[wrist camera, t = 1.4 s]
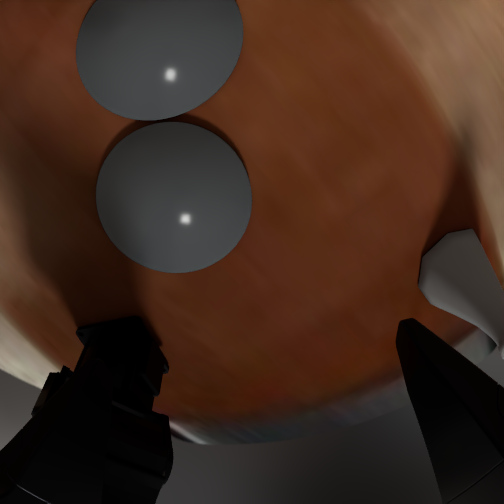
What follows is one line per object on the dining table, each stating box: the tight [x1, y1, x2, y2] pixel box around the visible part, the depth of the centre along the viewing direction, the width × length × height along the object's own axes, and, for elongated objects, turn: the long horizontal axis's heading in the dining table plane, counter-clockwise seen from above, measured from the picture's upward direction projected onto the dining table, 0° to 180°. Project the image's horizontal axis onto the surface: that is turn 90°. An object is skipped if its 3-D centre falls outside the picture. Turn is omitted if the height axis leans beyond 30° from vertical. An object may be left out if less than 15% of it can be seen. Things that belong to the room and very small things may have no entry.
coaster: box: [96, 122, 252, 273], centre depth 20 cm, size 10×10×1 cm
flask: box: [418, 229, 504, 359], centre depth 19 cm, size 7×7×10 cm
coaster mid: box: [76, 0, 243, 120], centre depth 15 cm, size 10×10×1 cm
